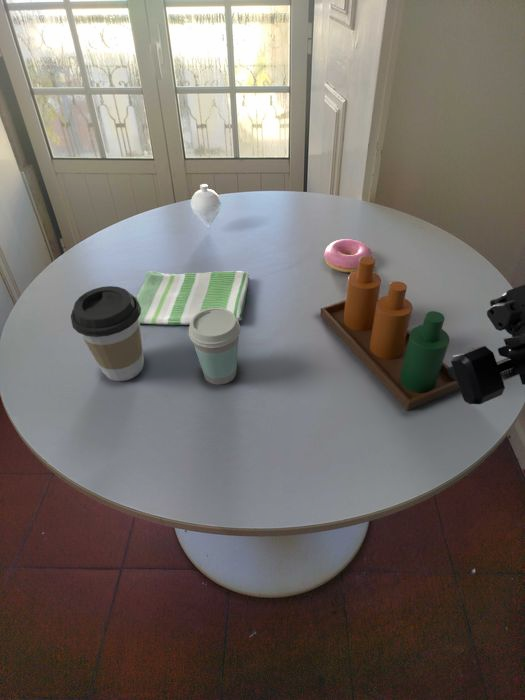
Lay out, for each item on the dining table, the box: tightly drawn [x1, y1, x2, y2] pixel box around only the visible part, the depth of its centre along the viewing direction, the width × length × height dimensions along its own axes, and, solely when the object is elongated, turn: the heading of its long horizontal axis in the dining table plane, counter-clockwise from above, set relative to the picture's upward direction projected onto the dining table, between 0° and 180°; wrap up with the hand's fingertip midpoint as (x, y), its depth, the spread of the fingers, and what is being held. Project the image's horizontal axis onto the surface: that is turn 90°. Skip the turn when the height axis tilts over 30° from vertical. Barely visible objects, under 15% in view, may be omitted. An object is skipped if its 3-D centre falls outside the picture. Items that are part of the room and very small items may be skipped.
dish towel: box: [135, 270, 250, 326], centre depth 100 cm, size 18×23×3 cm
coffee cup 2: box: [188, 308, 241, 386], centre depth 80 cm, size 8×8×12 cm
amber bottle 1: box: [344, 256, 382, 331], centre depth 88 cm, size 6×6×14 cm
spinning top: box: [190, 183, 222, 230], centre depth 120 cm, size 8×8×12 cm
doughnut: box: [323, 238, 373, 273], centre depth 109 cm, size 11×11×4 cm
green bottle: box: [400, 310, 450, 393], centre depth 76 cm, size 6×6×14 cm
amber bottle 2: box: [370, 280, 413, 359], centre depth 82 cm, size 6×6×14 cm
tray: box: [319, 299, 460, 412], centre depth 87 cm, size 28×11×2 cm, turn 25°
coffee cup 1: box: [70, 285, 145, 382], centre depth 81 cm, size 11×11×15 cm
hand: (474, 361), depth 66 cm, fingers open, 9 cm apart
